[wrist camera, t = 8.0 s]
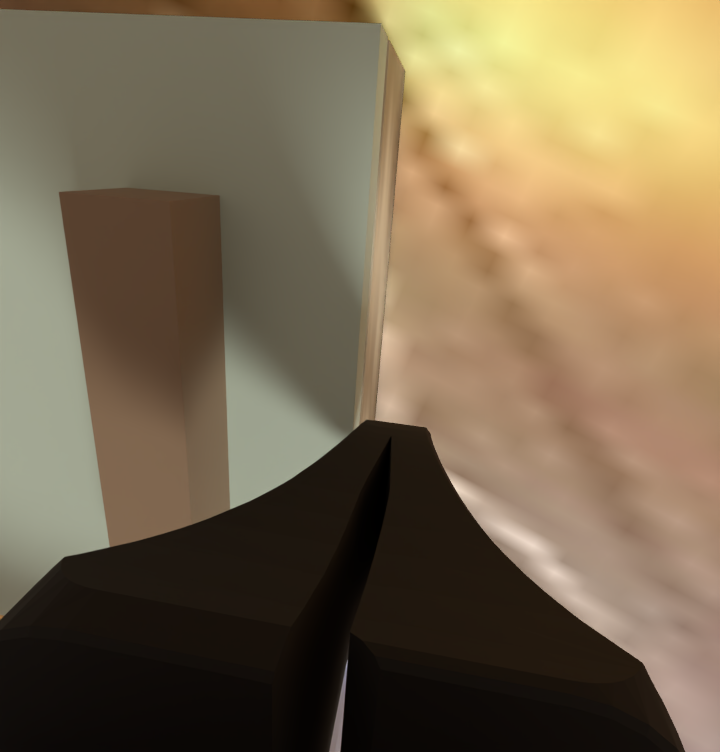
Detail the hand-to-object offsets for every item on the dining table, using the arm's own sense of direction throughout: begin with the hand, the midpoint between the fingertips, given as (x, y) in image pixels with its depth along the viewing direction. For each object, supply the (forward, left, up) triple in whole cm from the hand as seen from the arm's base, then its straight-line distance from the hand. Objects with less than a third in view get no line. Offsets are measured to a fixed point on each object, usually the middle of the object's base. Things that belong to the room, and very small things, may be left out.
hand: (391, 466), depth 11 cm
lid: (0, +8, -2) cm, 8 cm away
